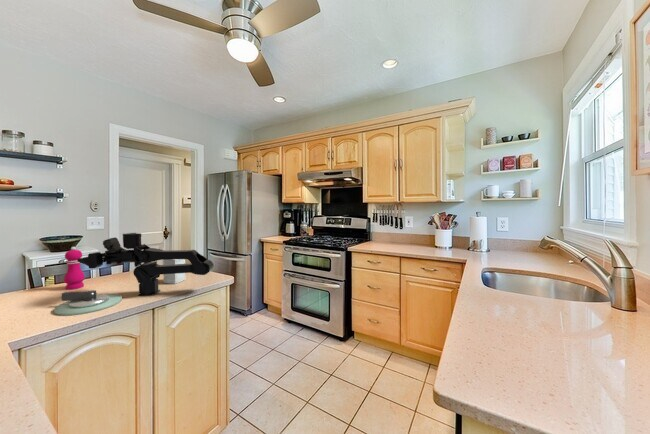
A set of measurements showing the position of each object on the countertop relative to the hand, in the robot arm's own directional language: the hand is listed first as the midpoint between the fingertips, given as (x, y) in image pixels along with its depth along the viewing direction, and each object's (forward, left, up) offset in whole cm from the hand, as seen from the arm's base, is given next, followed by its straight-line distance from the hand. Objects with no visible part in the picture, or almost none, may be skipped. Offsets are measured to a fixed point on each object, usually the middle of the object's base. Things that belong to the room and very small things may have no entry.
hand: (86, 258), depth 113 cm
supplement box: (-28, -18, -17) cm, 38 cm away
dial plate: (-9, +12, -17) cm, 22 cm away
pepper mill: (+15, -12, -17) cm, 26 cm away
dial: (-8, +12, -15) cm, 21 cm away
